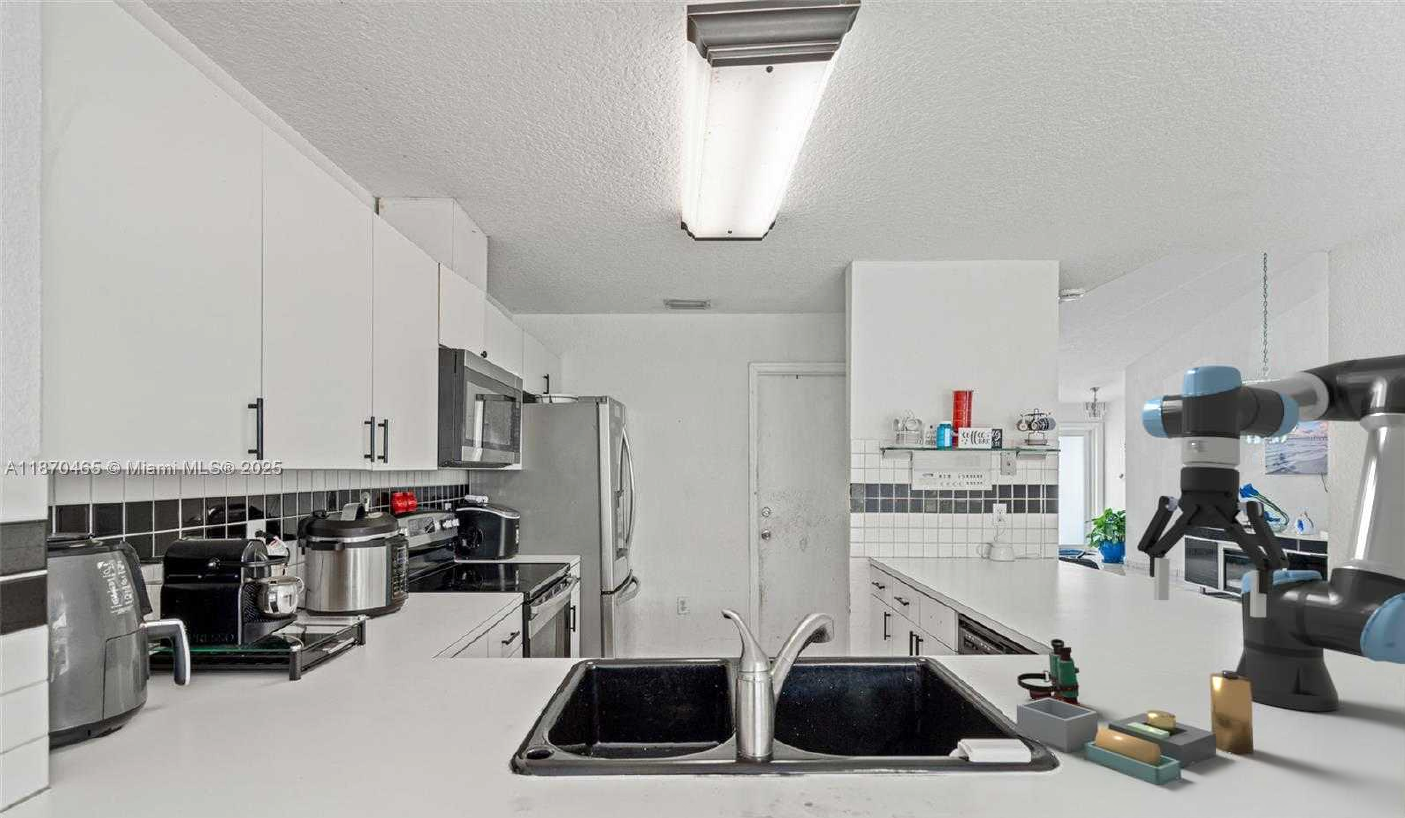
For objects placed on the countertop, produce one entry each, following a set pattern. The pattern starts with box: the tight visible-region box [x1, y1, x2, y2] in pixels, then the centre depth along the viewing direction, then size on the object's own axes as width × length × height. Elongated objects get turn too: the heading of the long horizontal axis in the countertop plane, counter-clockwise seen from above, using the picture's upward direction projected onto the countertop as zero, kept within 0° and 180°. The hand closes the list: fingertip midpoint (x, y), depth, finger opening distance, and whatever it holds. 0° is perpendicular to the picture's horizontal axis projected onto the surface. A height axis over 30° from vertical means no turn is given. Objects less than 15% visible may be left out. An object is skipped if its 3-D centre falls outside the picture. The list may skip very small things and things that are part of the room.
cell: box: [1209, 669, 1254, 755], centre depth 111 cm, size 5×5×11 cm
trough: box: [1083, 727, 1182, 786], centre depth 102 cm, size 6×10×4 cm, turn 32°
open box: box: [1016, 698, 1099, 754], centre depth 112 cm, size 8×8×4 cm
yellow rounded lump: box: [1146, 709, 1177, 736], centre depth 109 cm, size 4×4×2 cm
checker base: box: [1107, 712, 1217, 769], centre depth 109 cm, size 10×10×4 cm
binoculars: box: [1016, 638, 1081, 707], centre depth 130 cm, size 9×11×10 cm
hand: (1207, 608), depth 113 cm, fingers open, 13 cm apart
